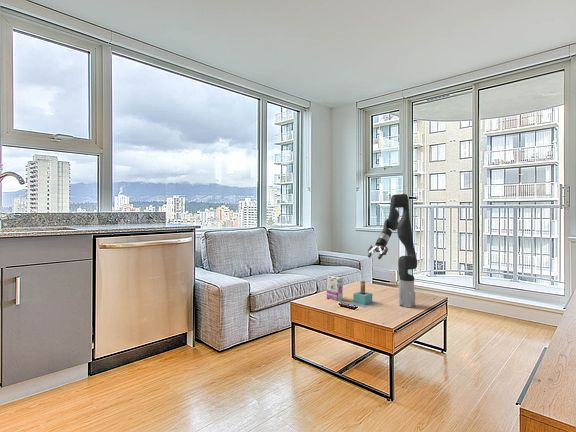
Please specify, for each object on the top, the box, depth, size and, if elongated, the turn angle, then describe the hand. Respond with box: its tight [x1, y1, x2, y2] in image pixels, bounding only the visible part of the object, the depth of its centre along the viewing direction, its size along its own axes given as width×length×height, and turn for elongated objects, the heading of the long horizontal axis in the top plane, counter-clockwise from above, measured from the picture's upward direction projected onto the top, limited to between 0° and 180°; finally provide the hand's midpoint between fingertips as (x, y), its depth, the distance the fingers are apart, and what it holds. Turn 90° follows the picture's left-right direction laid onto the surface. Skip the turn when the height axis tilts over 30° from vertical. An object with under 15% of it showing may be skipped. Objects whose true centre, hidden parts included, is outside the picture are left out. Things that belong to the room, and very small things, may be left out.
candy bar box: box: [326, 275, 344, 302], centre depth 234 cm, size 11×5×16 cm, turn 37°
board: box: [348, 300, 379, 308], centre depth 225 cm, size 14×16×1 cm
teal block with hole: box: [352, 290, 373, 305], centre depth 227 cm, size 9×9×6 cm
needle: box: [360, 280, 366, 295], centre depth 227 cm, size 3×3×14 cm
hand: (373, 257), depth 241 cm, fingers open, 8 cm apart
